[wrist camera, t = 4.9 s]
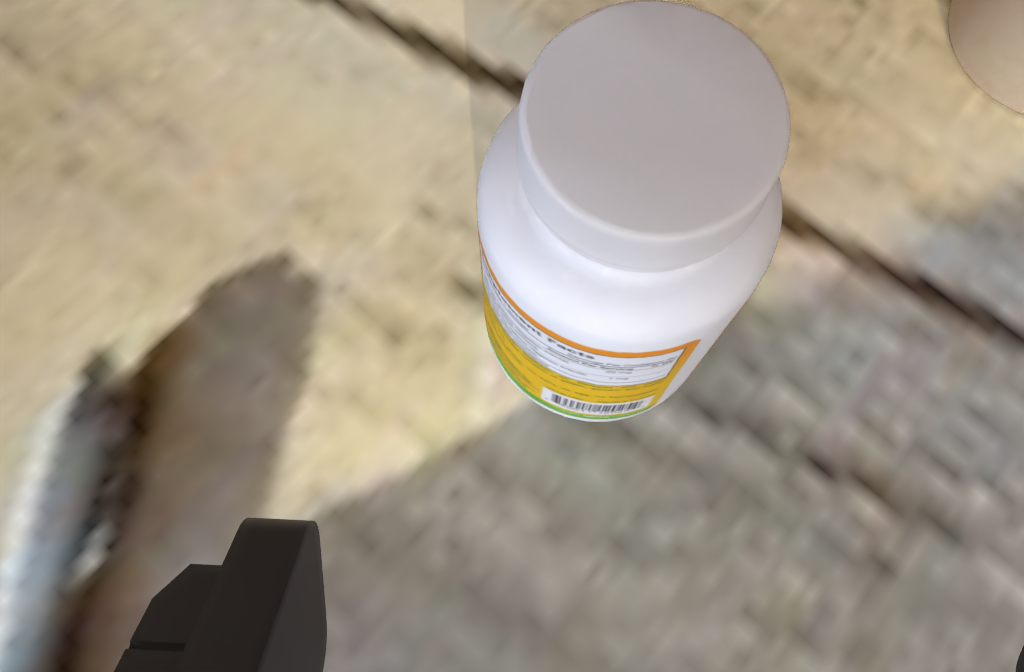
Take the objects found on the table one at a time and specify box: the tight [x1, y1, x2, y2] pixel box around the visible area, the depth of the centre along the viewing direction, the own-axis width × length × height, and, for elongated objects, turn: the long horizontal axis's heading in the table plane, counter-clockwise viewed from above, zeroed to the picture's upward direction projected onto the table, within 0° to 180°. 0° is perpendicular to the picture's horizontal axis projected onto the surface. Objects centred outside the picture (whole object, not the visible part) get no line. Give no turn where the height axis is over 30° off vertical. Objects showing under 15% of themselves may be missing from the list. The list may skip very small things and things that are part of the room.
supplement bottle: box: [477, 0, 791, 422], centre depth 18 cm, size 5×5×10 cm
